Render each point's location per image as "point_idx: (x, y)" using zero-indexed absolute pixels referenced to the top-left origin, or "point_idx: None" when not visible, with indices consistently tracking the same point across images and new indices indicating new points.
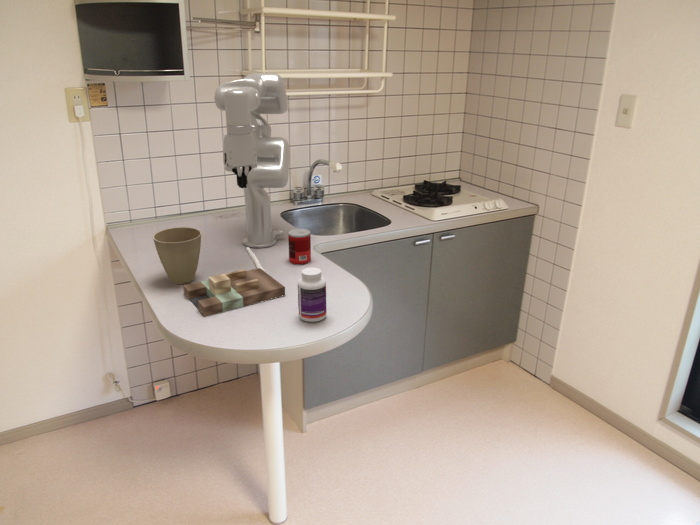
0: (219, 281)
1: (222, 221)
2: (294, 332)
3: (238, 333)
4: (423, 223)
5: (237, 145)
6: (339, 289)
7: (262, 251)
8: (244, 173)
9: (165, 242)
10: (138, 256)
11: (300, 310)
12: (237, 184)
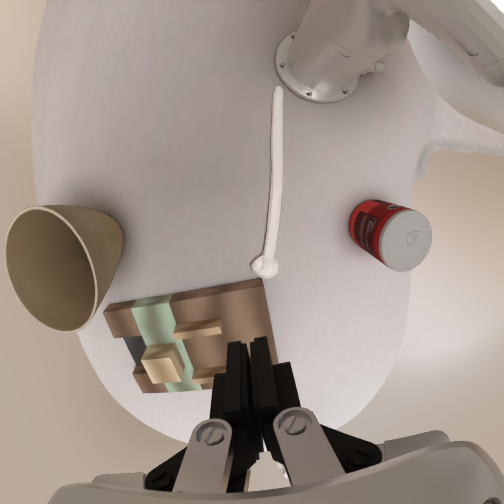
0: (161, 382)
1: None
2: None
3: (189, 425)
4: None
5: None
6: (365, 365)
7: (310, 123)
8: (283, 462)
9: (33, 317)
10: (47, 86)
11: None
12: (216, 376)
